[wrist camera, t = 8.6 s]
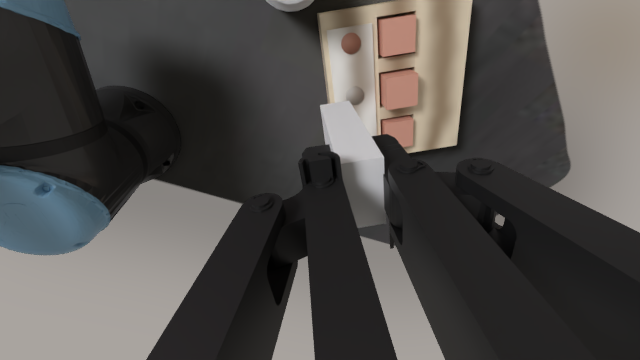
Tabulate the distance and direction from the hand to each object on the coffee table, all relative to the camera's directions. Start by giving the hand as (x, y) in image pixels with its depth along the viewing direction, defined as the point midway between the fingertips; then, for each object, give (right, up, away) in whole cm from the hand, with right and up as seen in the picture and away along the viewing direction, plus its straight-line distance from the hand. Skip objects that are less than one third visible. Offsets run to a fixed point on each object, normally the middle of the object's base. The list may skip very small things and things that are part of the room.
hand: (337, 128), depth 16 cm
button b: (+10, +11, +29) cm, 33 cm away
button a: (+11, +6, +34) cm, 36 cm away
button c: (+9, +18, +26) cm, 33 cm away
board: (+10, +13, +31) cm, 35 cm away
